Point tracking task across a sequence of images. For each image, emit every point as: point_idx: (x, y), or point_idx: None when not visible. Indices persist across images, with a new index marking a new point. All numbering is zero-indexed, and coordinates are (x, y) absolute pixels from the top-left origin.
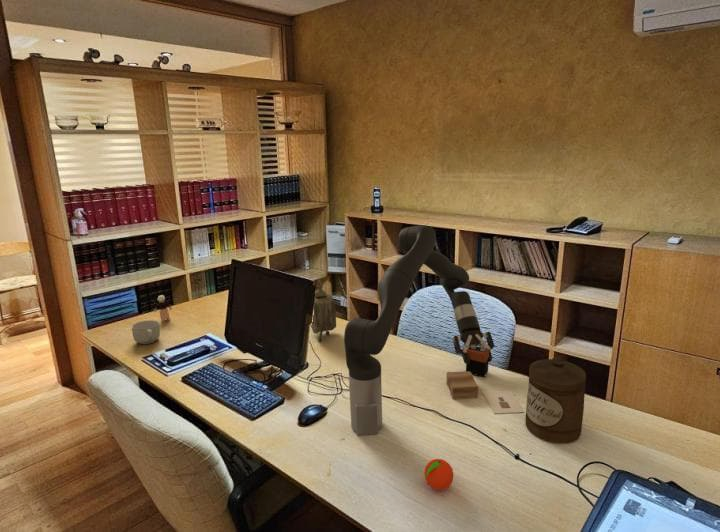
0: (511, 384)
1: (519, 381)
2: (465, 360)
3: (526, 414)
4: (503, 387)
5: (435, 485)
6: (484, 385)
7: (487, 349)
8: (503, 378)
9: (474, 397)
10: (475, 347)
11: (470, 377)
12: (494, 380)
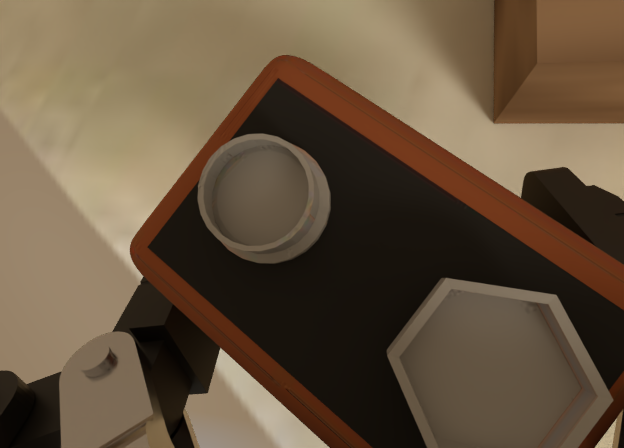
0: (169, 64)
1: (97, 101)
2: (616, 198)
3: None
4: (242, 26)
5: None
6: (379, 60)
7: (156, 228)
8: (188, 154)
9: None
10: (445, 278)
11: None
12: None
